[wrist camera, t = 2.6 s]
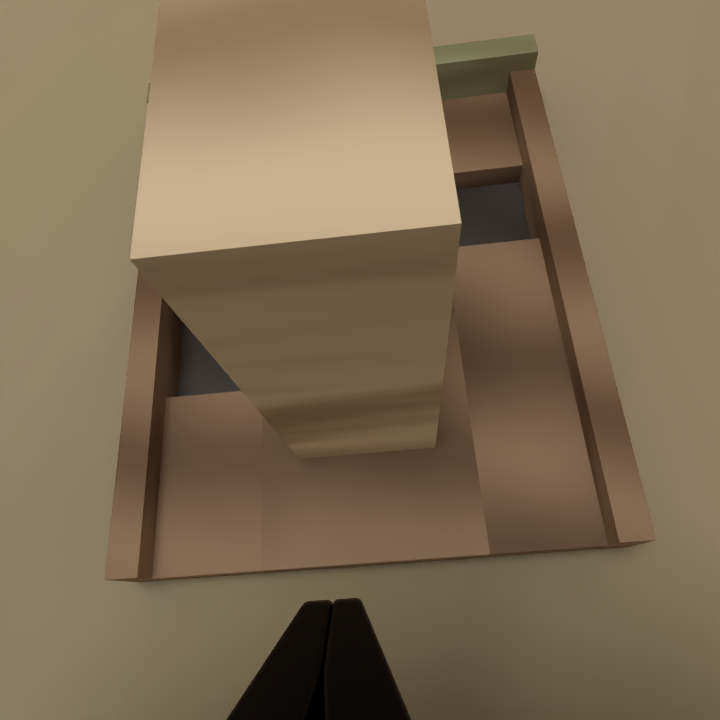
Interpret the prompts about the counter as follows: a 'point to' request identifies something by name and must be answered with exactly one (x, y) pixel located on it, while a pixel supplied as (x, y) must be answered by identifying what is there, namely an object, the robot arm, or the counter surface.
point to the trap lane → (458, 400)
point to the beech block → (305, 211)
